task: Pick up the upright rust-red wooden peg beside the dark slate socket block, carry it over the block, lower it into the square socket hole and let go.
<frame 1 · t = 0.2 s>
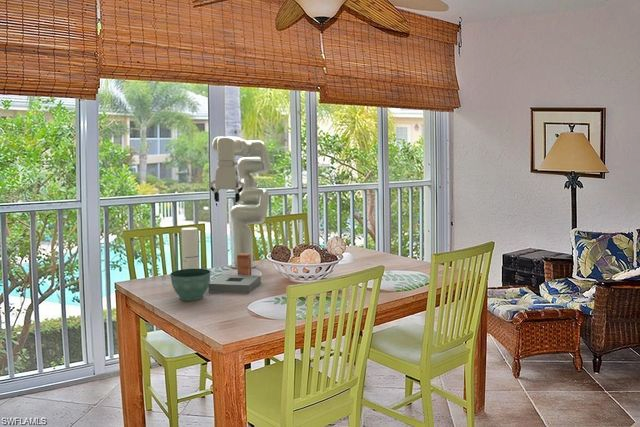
hand: (227, 201, 282), 36 cm above the table, tool pointing down, fingers open, 9 cm apart
peg: (244, 279, 283), on the table
socket block: (235, 287, 269), on the table
green bowl: (191, 298, 252), on the table
cylindrical container: (191, 283, 277), on the table
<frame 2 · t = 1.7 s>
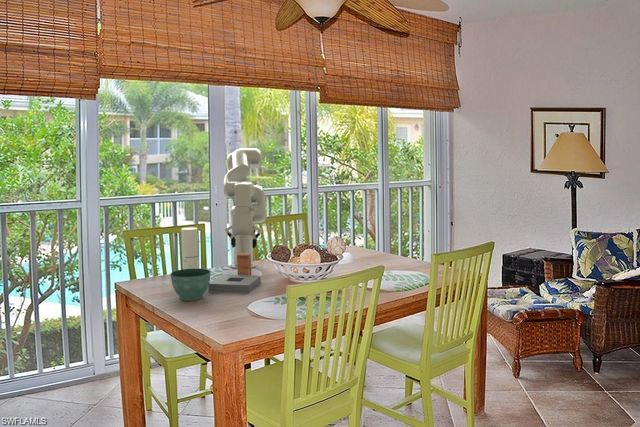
hand: (244, 247, 280), 15 cm above the table, tool pointing down, fingers open, 9 cm apart
nothing on the table moved.
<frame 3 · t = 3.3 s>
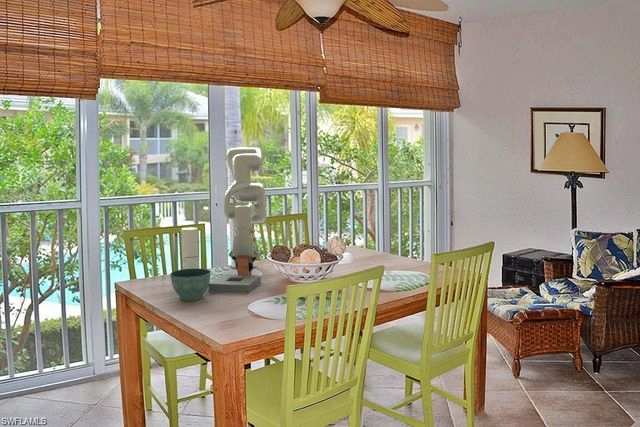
hand: (244, 270, 282), 4 cm above the table, tool pointing down, fingers closed on peg, 5 cm apart
peg: (244, 279, 283), on the table, touching gripper
everything else where it was.
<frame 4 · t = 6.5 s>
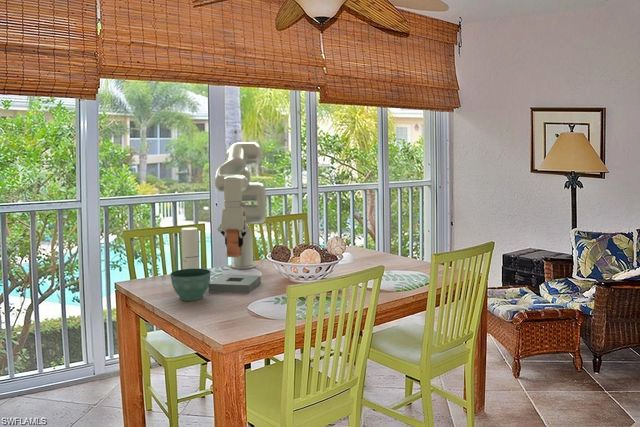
hand: (234, 245, 267), 18 cm above the table, tool pointing down, fingers closed on peg, 5 cm apart
peg: (234, 255, 267), point 14 cm above the table, touching gripper
everything else where it was.
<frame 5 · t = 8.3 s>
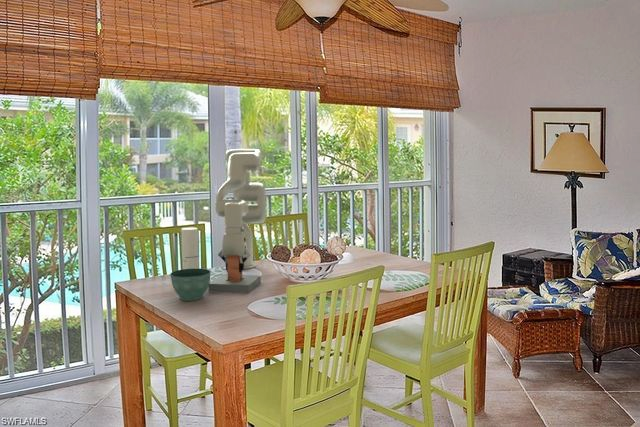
hand: (234, 271, 268), 7 cm above the table, tool pointing down, fingers closed on peg, 5 cm apart
peg: (235, 281, 269), point 3 cm above the table, touching gripper
everything else where it was.
when the fingers open (6 cm above the table, at t = 9.6 s): peg drops 2 cm, resting in socket block.
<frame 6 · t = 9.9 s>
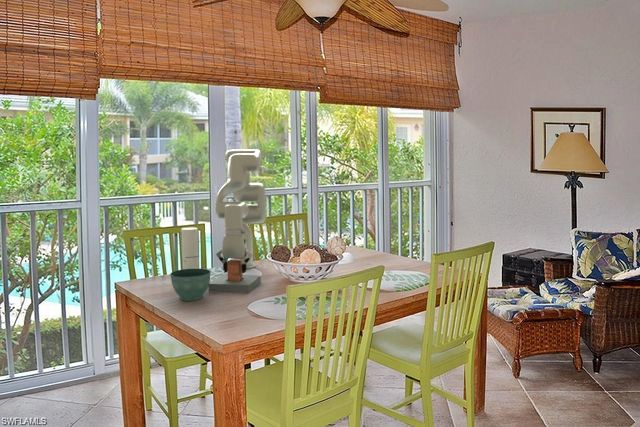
hand: (234, 272, 268), 7 cm above the table, tool pointing down, fingers open, 7 cm apart
peg: (235, 287, 269), resting in socket block
everything else where it was.
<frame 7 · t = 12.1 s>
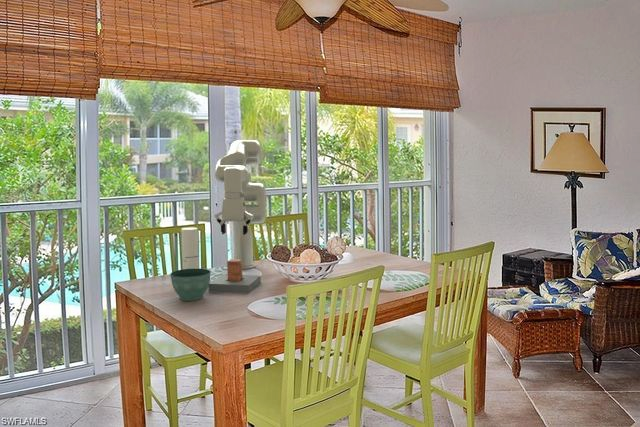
hand: (234, 233, 271), 23 cm above the table, tool pointing down, fingers open, 9 cm apart
nothing on the table moved.
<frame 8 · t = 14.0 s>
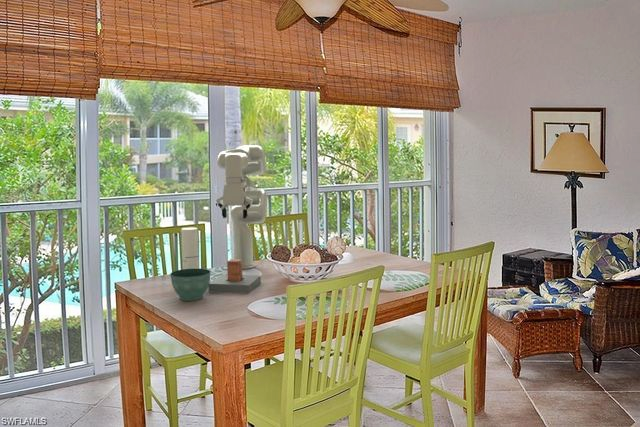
hand: (234, 217, 283), 28 cm above the table, tool pointing down, fingers open, 9 cm apart
nothing on the table moved.
at the end: peg 0.0 cm off-centre on the socket block, point 0.0 cm above the socket block's base; peg tilted 0°; the gripper is holding nothing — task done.
